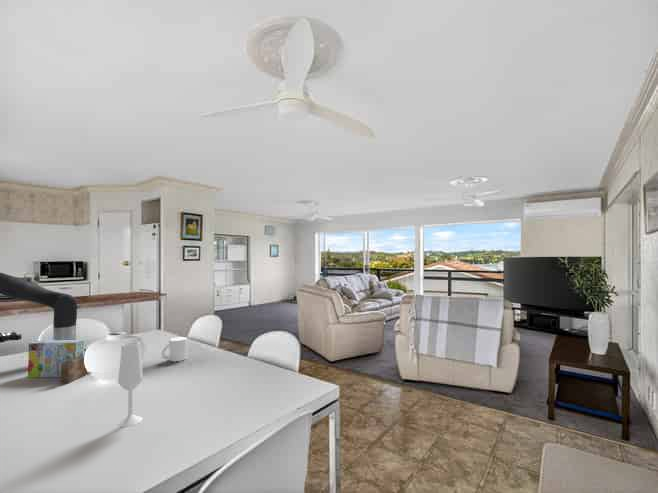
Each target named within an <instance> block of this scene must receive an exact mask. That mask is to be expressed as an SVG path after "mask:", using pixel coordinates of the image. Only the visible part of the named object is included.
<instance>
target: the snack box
mask: <svg viewBox="0 0 658 493" xmlns="http://www.w3.org/2000/svg"><path fill="white" fill-rule="evenodd" d="M84 341H85V340H84V339H77V340H53V339H52V340H36V341H32V342H29V343H28V359H27V360H28V363H27V364H28V365H27V367H28V368H27V369H28V370H27V377H28V378H61V364H63V363H65V362H67V355H69V354H73V359H76V358H78V357H81V356H83V355H84V349H85V348H84V344H85V342H84Z"/></svg>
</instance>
